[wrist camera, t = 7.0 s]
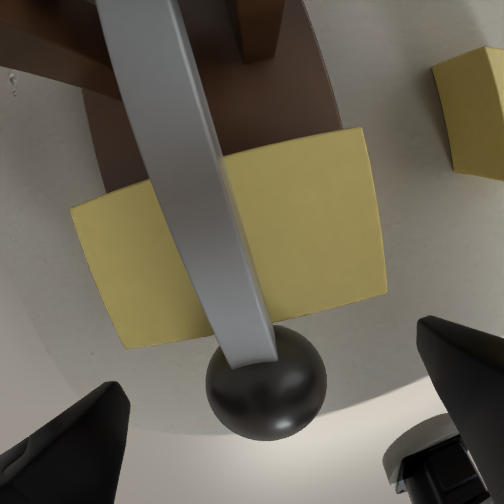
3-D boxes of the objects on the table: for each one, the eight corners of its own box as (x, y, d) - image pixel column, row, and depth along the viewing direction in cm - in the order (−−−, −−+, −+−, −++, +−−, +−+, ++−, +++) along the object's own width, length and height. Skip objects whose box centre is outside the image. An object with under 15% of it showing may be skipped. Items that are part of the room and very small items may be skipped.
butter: (343, 244, 11) (388, 293, 7) (164, 286, 12) (124, 350, 8) (321, 136, 10) (362, 126, 6) (131, 187, 11) (67, 208, 7)
